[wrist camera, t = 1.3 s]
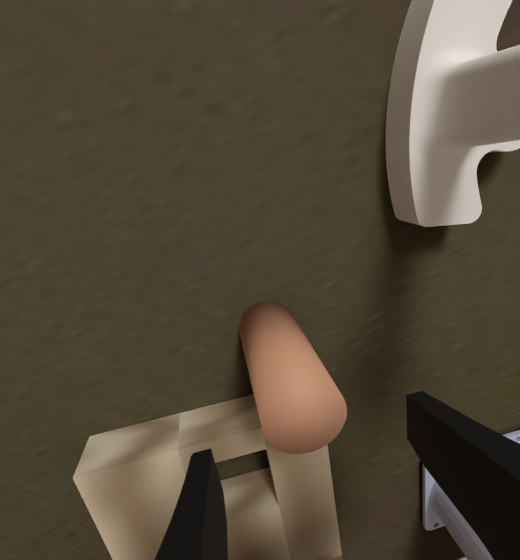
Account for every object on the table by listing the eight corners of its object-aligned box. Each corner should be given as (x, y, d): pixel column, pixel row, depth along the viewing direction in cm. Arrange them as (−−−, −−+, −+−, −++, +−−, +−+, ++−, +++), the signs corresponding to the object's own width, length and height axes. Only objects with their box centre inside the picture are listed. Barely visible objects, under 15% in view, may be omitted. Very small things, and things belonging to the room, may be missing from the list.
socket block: (307, 380, 22) (350, 465, 16) (328, 524, 27) (368, 634, 21) (89, 436, 21) (41, 554, 14) (152, 578, 26) (137, 714, 19)
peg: (289, 295, 20) (343, 372, 13) (297, 344, 21) (349, 441, 14) (233, 308, 20) (254, 394, 12) (244, 357, 21) (269, 463, 14)
